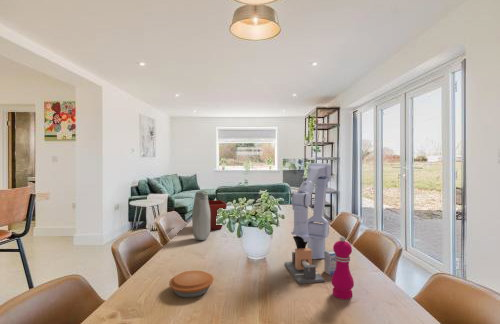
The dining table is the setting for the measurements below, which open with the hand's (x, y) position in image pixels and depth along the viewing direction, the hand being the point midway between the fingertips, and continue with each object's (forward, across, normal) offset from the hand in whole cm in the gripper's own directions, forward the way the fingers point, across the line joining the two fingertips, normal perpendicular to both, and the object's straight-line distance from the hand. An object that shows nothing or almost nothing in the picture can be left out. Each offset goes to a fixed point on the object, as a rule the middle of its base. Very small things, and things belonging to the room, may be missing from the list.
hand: (300, 254), depth 117 cm
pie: (+7, +11, -44) cm, 46 cm away
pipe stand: (+7, +3, 0) cm, 7 cm away
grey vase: (+7, -50, -42) cm, 66 cm away
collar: (+5, +3, 0) cm, 5 cm away
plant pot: (+7, -76, -37) cm, 85 cm away
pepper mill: (+7, +23, +7) cm, 25 cm away
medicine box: (+7, +5, +13) cm, 15 cm away
